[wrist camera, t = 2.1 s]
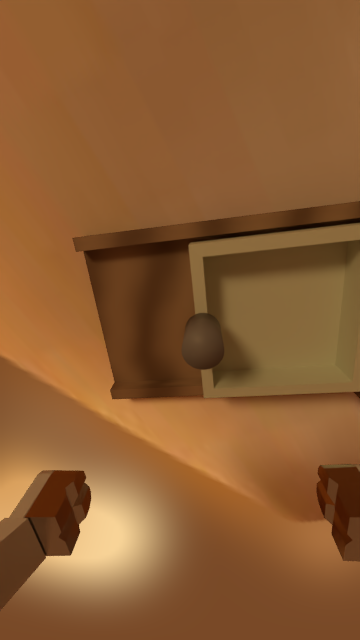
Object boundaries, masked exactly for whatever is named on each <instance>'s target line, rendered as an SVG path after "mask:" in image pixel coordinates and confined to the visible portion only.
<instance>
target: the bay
mask: <svg viewBox="0 0 360 640" xmlns="http://www.w3.org/2000/svg"><path fill="white" fill-rule="evenodd" d="M349 223H360V201H359V202H351V203H343V204H335V205H327V206H319V207H311V208H304V209H296V210H288V211H280V212H272V213H264V214H256V215H249V216H241V217H233V218H225V219H217V220H209V221H201V222H194V223H186V224H178V225H170V226H162V227H154V228H146V229H139V230H131V231H123V232H115V233H107V234H99V235H91V236H84V237H76V238H73V242H74V246H75V250H76V252H79V251H84V255H85V259H86V264H87V268H88V272H89V276H90V280H91V285H92V289H93V293H94V297H95V301H96V306H97V310H98V314H99V318H100V322H101V327H102V331H103V335H104V339H105V343H106V348H107V352H108V356H109V360H110V364H111V369H112V373H113V377H114V381H115V383H114V384H113V386H112V388H111V390H110V391H111V395H112V399H129V398H151V397H174V396H197V395H204V394H203V384H202V374H201V370H200V369H196V368H193V367H191V366H190V365H189V364H187V363H186V361H185V360H184V358H183V356H182V343H183V338H184V332H185V326H186V323H187V321H188V320H189V318H190V317H192V316H193V315H195V305H194V296H193V286H192V276H191V266H190V256H189V246H188V245H189V244H190V243H191V242H197V241H205V240H214V239H222V238H231V237H239V236H248V235H256V234H264V233H273V232H281V231H290V230H298V229H307V228H315V227H324V226H332V225H341V224H349ZM354 393H355V394H356V395H357V396H358V397H359V398H360V392H354Z"/></svg>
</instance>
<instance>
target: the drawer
mask: <svg viewBox="0 0 360 640" xmlns="http://www.w3.org/2000/svg"><path fill="white" fill-rule="evenodd" d="M188 246H189V256H190V266H191V276H192V286H193V296H194V305H195V315H193V316H192V317H190V318H189V320H188V321H187V323H186V326H185V332H184V338H183V343H182V356H183V358H184V360H185V361H186V363H187V364H189V365H190V366H191V367H193V368H196V369H200V370H201V374H202V384H203V394H204V398H219V397H243V396H266V395H290V394H313V393H337V392H360V223H349V224H341V225H332V226H324V227H315V228H307V229H298V230H290V231H281V232H273V233H264V234H256V235H248V236H239V237H231V238H222V239H214V240H205V241H197V242H191V243H190V244H189V245H188Z"/></svg>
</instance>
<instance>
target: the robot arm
mask: <svg viewBox="0 0 360 640" xmlns="http://www.w3.org/2000/svg"><path fill="white" fill-rule="evenodd" d="M318 475H319V477H320V479H321V480H320V481H319V482H318V483H317V497H318V502H319V505H320V508H321V510H322V513H323V515H324V518H325V519H327V520H328V521H329V522H330V523H331V524H332V525H333V526H332V536H333V538H334V540H335V543H336V545H337V547H338V549H339V552H340V554H341V556H342V558H343V560H344V561H360V464H353V465H352V464H341V465H320V466H319V468H318ZM85 479H86V475H85V473H84V471H62V470H52V471H42V472H40V473H39V474H38V475H37V477H36V478H35V480H34V481H33V483H32V484H31V486H30V487H29V488H28V490H27V491H26V493H25V495H24V496H23V498H22V499H21V500H20V502H19V503H18V505H17V506H16V508H15V510H14V511H13V512H12V514H11V515H10V517H9V518H4V519H3V520H2V521H1V522H0V610H1V609H2V608H3V607H4V606H5V605H6V603H7V602H8V601H9V600H10V599H11V598H12V596H13V595H14V594H15V593H16V592H17V591H18V589H19V588H20V587H21V586H22V585H23V584H24V583H25V581H26V580H27V579H28V578H29V577H30V576H31V574H32V573H33V572H34V571H35V570H36V569H37V568H38V566H39V565H40V564H41V563H42V562H43V561H44V559H45V558H46V556H65V555H71V554H72V551H73V549H74V546H75V544H76V541H77V538H78V536H79V534H80V529H79V524H80V523H81V522H82V521H83V520H84V519H85V518H86V516H87V513H88V510H89V508H90V502H91V491H90V487H89V486H88V485H87V484H86V483H84V482H85Z"/></svg>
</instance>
